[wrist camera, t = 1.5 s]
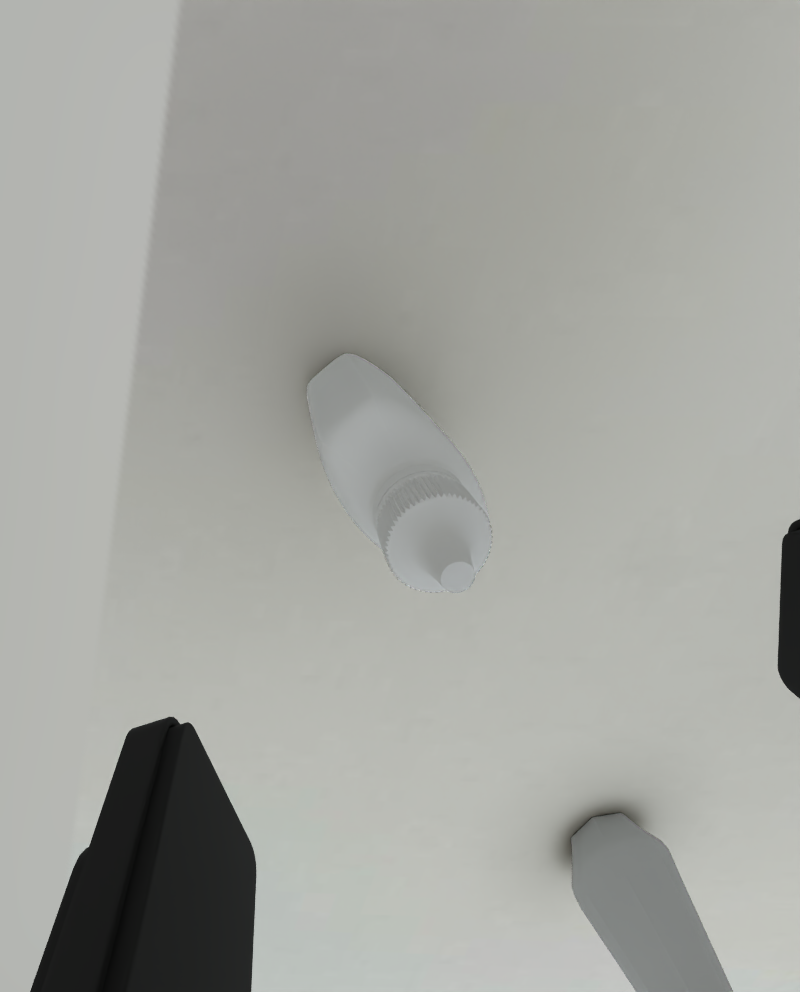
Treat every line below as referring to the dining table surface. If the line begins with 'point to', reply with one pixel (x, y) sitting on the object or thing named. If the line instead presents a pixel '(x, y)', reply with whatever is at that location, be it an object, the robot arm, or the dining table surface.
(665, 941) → the salt shaker
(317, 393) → the white plastic bottle
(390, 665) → the dining table surface
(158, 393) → the dining table surface
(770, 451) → the dining table surface
